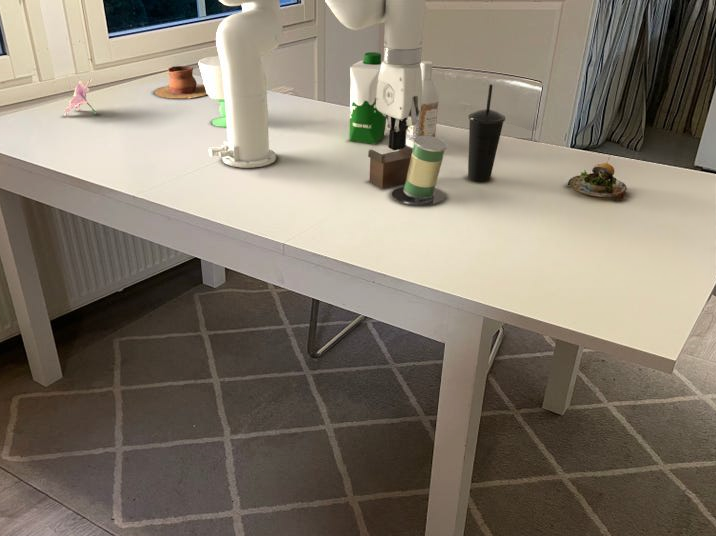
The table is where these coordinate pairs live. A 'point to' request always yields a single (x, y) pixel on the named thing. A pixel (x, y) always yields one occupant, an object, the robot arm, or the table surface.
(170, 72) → the ceramic pot
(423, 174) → the can
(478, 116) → the drinking cup
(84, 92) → the lily
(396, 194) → the coaster
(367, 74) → the milk carton
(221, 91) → the cup
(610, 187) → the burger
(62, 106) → the table surface
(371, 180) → the rest
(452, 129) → the table surface
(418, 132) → the bath foam
